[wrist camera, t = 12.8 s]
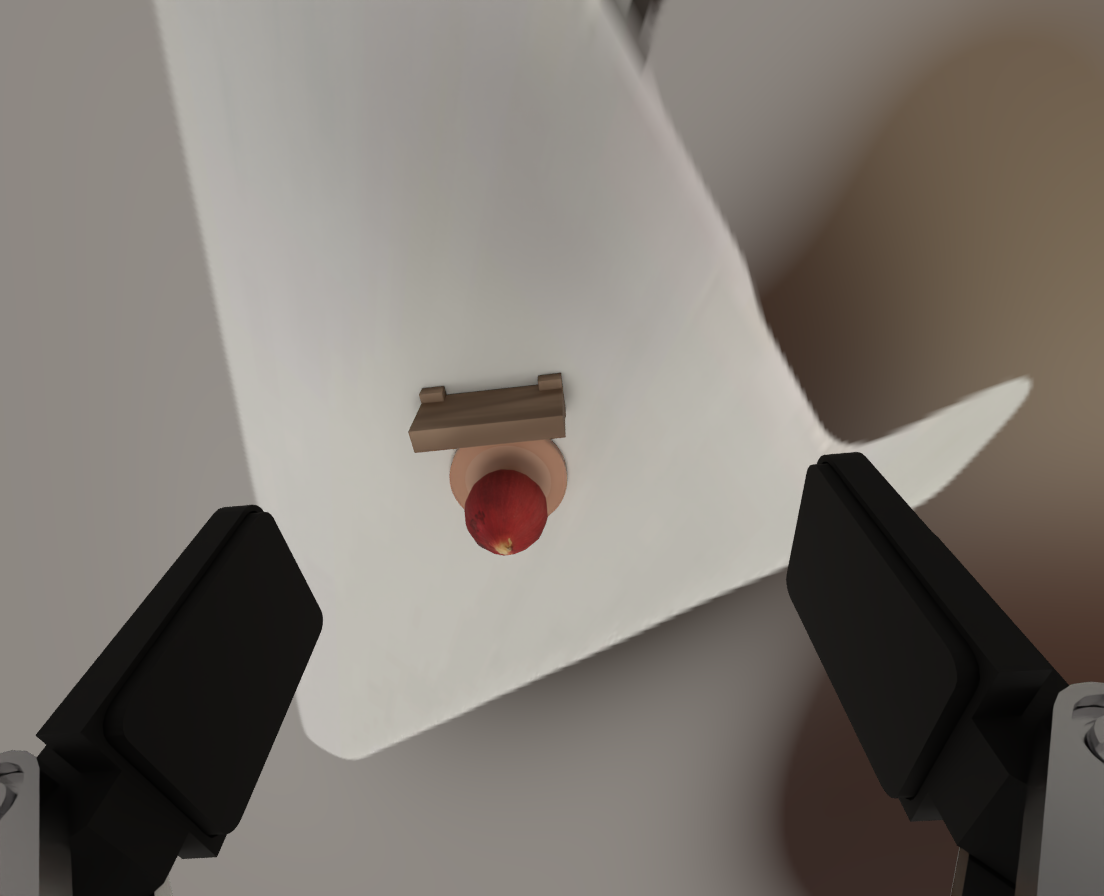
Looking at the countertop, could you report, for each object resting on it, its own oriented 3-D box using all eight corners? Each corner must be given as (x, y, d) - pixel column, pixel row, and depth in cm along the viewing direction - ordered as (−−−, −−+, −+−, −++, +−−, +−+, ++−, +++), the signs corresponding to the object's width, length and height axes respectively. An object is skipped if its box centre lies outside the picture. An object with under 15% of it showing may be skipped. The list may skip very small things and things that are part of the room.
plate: (440, 430, 40) (437, 438, 39) (559, 417, 39) (559, 425, 38) (465, 522, 45) (463, 532, 44) (572, 512, 44) (572, 522, 43)
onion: (493, 519, 43) (482, 595, 36) (457, 465, 40) (438, 536, 33) (559, 495, 42) (560, 569, 35) (527, 437, 39) (521, 506, 32)
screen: (422, 388, 38) (405, 422, 34) (560, 373, 37) (561, 405, 33) (432, 424, 40) (417, 461, 35) (565, 410, 39) (566, 446, 35)
